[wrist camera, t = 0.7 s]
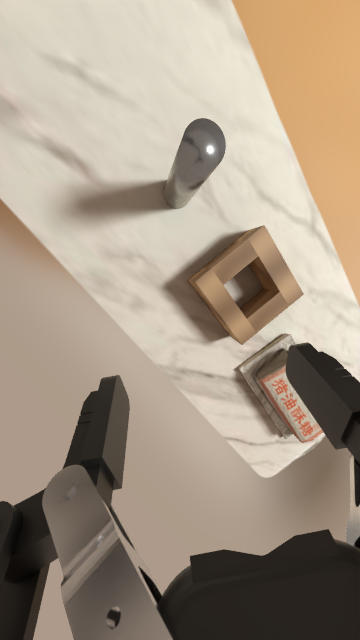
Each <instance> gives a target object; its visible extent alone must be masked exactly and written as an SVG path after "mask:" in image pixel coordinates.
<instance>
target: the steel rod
mask: <svg viewBox="0 0 360 640" xmlns="http://www.w3.org/2000/svg"><path fill="white" fill-rule="evenodd" d="M225 147H226V145H225V138H224V135H223V132H222V130H221V129H220V127H219V126H218V125H217V124H216V123H215V122H213V121H211V120H209V119H205V118H201V119H197V120H194V121H193V122H191V123H190V124H189V125H188V127H187V128H186V130H185V132H184V135H183V138H182V141H181V143H180V146H179V149H178V152H177V154H176V157H175V160H174V163H173V166H172V168H171V171H170V174H169V177H168V180H167V182H166V185H165V188H164V198H165V200H166V202H167V203H168V204H169V205H170V206H171V207H173V208H182V207H184V206H185V205H186V204H187V203H188V202H189V200H190V199H191V198H192V197H193V195H194V194H195V193H196V192H197V191H198V189H199V188H200V187H201V186H202V184H203V183H204V182H205V181H206V179H207V178H208V177H209V176H210V174H211V173H212V172H213V171H214V169H215V168H216V167H217V166H218V165H219V163H220V162H221V161H222V159H223V157H224V154H225Z"/></svg>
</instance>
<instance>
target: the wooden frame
mask: <svg viewBox="0 0 360 640" xmlns="http://www.w3.org/2000/svg"><path fill="white" fill-rule="evenodd" d="M248 264H249V266H250V268H251V269H252V271H253V272H254V274H255V276H256V277H257V279H258V280H259V282H260V283H261V285H262V287H263V288H264V289H263V290H262V291H261V292H259V293H258V294H257V295H256V296H255V297H253V298H252V299H251V300H250V301H248V302H247V303H246V304H245V305H244V306H242V307H241V308H240V309H239V307H238V306H237V304H236V303H235V301H234V300H233V299H232V297H231V296H230V294H229V293H228V291H227V290H226V289H225V287H224V286H223V285H224V284H225V283H226V282H227V281H229V280H230V279H231V278H232V277H234V276H235V275H236V274H237V273H238V272H240V271H241V270H242V269H243V268H245V267H246V266H247V265H248ZM188 281H189V282H190V283H191V285H192V286H193V287H194V289H195V290H196V291H197V293H198V294H199V295H200V297H201V298H202V299H203V301H204V302H205V303H206V305H207V306H208V307H209V309H210V310H211V311H212V313H213V314H214V315H215V317H216V318H217V319H218V321H219V322H220V323H221V325H222V326H223V327H224V329H225V330H226V331H227V333H228V334H229V335H230V336H231V337H232V338H233V339H235V340H236V341H237V342H239V343H240V344H241V345H242V344H244V343H245V342H246V341H247V340H249V339H250V338H251V337H252V336H253V335H255V334H256V333H257V332H258V331H260V330H261V329H262V328H263V327H264V326H266V325H267V324H268V323H269V322H271V321H272V320H273V319H274V318H275V317H277V316H278V315H279V314H280V313H282V312H283V311H284V310H285V309H286V308H288V307H289V306H290V305H291V304H293V303H294V302H295V301H296V300H297V299H299V298H300V297H301V296H302V295H304V294H303V292H302V290H301V289H300V287H299V285H298V283H297V282H296V280H295V278H294V276H293V275H292V273H291V271H290V269H289V268H288V266H287V264H286V262H285V261H284V259H283V257H282V255H281V254H280V252H279V250H278V248H277V247H276V245H275V243H274V241H273V240H272V238H271V236H270V234H269V233H268V231H267V229H266V227H265V226H260V227H257V228H254V229H251V230H248V231H247V232H246V233H245V234H244V235H242V236H241V237H240V238H239V239H237V240H236V241H235V242H234V243H233V244H231V245H230V246H229V247H228V248H226V249H225V250H224V251H223V252H222V253H220V254H219V255H218V256H217V257H215V258H214V259H213V260H212V261H211V262H209V263H208V264H207V265H206V266H205V267H203V268H202V269H201V270H200V271H198V272H197V273H196V274H195V275H194V276H192V277H191V278H190V279H189V280H188Z"/></svg>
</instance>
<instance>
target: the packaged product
mask: <svg viewBox="0 0 360 640" xmlns="http://www.w3.org/2000/svg"><path fill="white" fill-rule="evenodd" d="M291 345H296V344H295V342H294V340H293V338H292V336H291V335H290V334H284V335H282V336H281V337H279V338H278V339H277V340H275V341H274V342H272V343H271V344H270V345H268V346H267V347H265V348H264V349H262V350H261V351H260V352H258V353H257V354H255V355H254V356H252V357H251V358H250V359H248V360H247V361H245V362H244V363H243V364H242V365H241V366H240V367H238V368H239V370H240V371H241V373H242V375H243V376H244V378H245V380H246V381H247V383H248V385H249V386H250V387H251V389H252V390H253V391H254V393H255V394H256V396H257V397H258V399H259V400H260V402H261V403H262V405H263V407H264V409H265V410H266V411H267V413H268V414H269V415H270V417H271V418H272V420H273V422H274V423H275V425H276V426H277V428H278V429H279V430H280V432H281V433H282V435H283V436H284V438H285V439H287V438H288V437H290V436H291V435H292V434H294V435H295V436H296V437H297V438H298V439H299V441H300V442H303V443H304V442H308V441H312V440H313V439H314V438H316V437H317V436H318V435H319V434H321V433H323V430H322V429H321V428H320V426H319V425H318V423H317V422H316V420H315V419H314V417H313V416H312V414H311V413H310V412H309V410H308V409H307V407H306V406H305V404H304V403H303V401H302V400H301V398H300V397H299V396H298V394H297V393H296V391H295V390H294V388H293V387H292V385H291V384H290V383H289V381H288V379H287V376H286V371H285V369H286V362H287V356H288V350H289V347H290V346H291Z"/></svg>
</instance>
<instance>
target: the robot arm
mask: <svg viewBox="0 0 360 640" xmlns="http://www.w3.org/2000/svg"><path fill="white" fill-rule="evenodd" d="M285 371H286V376H287V379H288V381H289V383H290V384H291V385H292V387H293V388H294V390H295V391H296V393H297V394H298V396H299V397H300V398H301V400H302V401H303V403H304V404H305V406H306V407H307V409H308V410H309V412H310V413H311V414H312V416H313V417H314V419H315V420H316V422H317V423H318V425H319V426H320V428H321V429H322V430H323V432H324V433H325V435H326V436H327V438H328V439H329V441H330V442H331V443H332V445H333V446H334V448H335V449H341V448H348V450H349V451H350V452H351V456H350V494H351V510H350V516H349V520H348V525H347V534H346V535H347V536H346V543H345V542H342V541H339V540H335V539H333V537H332V535H331V533H330V531H329V530H328V529H327V530H322V531H317V532H312V533H307V534H302V535H296V536H294V537H292V538H291V539H289V540H288V541H286V542H285V543H283V544H282V545H280V546H279V547H277V548H276V549H274V550H273V551H271V552H270V553H268V554H266V555H264V556H259V555H253V554H247V553H242V552H236V551H230V550H219V551H214V552H209V553H204V554H198V555H193V556H190V562H191V565H190V566H188V567H187V568H186V569H184V570H183V571H182V572H181V573H179V574H178V575H177V576H176V577H175V579H174V580H173V581H172V582H171V583H170V585H169V586H168V588H167V589H166V591H165V592H164V593H163V594H162V592H161V591H160V589H159V587H158V585H157V583H156V582H155V580H154V578H153V576H152V574H151V573H150V571H149V569H148V567H147V566H146V564H145V562H144V561H143V559H142V558H141V556H140V555H139V553H138V551H137V549H136V548H135V546H134V544H133V542H132V541H131V539H130V537H129V535H128V533H127V532H126V530H125V528H124V526H123V524H122V522H121V521H120V519H119V517H118V515H117V513H116V512H115V510H114V508H113V506H112V505H111V500H112V492H113V490H115V489H120V488H122V481H123V480H122V479H123V470H124V459H125V450H126V440H127V430H128V419H129V409H130V408H129V398H128V395H127V393H126V390H125V387H124V385H123V382H122V380H121V378H120V376H119V375H117V376H111V377H105V378H102V379H101V382H100V385H99V389H98V391H93V392H91V393H90V395H89V396H88V397H87V399H86V400H85V401H84V404H83V407H82V410H81V416H79V420H78V425H77V426H76V429H75V433H74V436H73V439H72V442H71V446H70V449H69V452H68V455H67V458H66V462H65V464H64V467H63V469H62V470H61V471H59V472H58V473H57V474H56V475H55V476H54V477H53V478H52V479H51V481H50V482H49V484H48V486H47V487H46V488H45V489H44V490H42V491H41V492H39V493H37V494H35V495H33V496H31V497H30V498H28V499H26V500H24V501H22V502H20V503H18V504H16V505H14V506H12V505H11V504H9V503H8V502H5V501H1V502H0V640H33V636H34V632H35V627H36V623H37V618H38V614H39V610H40V605H41V601H42V596H43V591H44V588H45V583H46V579H47V574H48V570H49V565H50V563H51V562H52V561H54V560H55V559H57V558H59V561H60V564H61V567H62V570H63V576H64V579H63V581H62V583H61V593H62V599H63V603H64V607H65V610H66V613H67V617H68V620H69V624H70V627H71V630H72V634H73V638H74V640H360V382H359V381H358V380H357V379H356V378H355V377H352V375H351V374H350V373H349V372H348V371H347V370H346V369H344V367H343V366H342V365H341V364H340V363H339V362H338V361H337V360H336V359H335V358H333V357H331V356H329V355H328V354H326V353H324V352H318V351H317V350H316V349H315V348H314V347H313V346H312V345H311V344H310V343H302V344H296V345H291V346H290V347H289V350H288V356H287V362H286V369H285Z"/></svg>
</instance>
